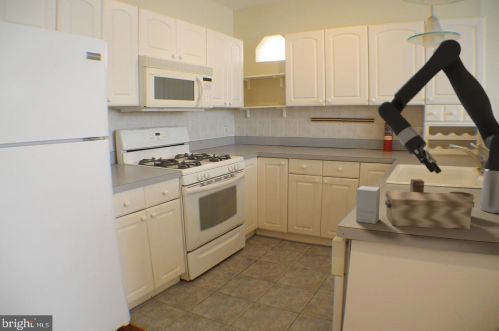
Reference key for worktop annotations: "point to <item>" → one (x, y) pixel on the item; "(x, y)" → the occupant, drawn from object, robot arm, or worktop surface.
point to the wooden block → (417, 185)
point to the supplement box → (367, 204)
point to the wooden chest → (428, 209)
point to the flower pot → (465, 194)
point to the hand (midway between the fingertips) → (436, 171)
